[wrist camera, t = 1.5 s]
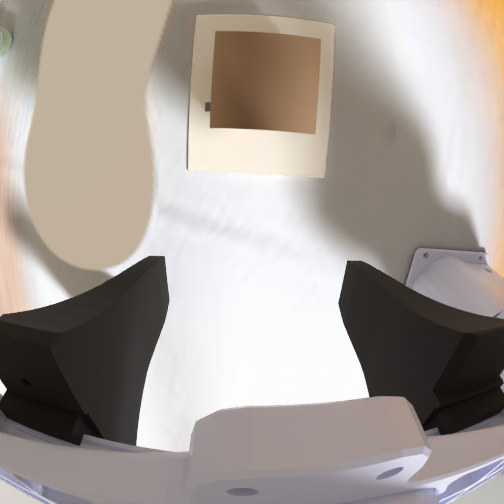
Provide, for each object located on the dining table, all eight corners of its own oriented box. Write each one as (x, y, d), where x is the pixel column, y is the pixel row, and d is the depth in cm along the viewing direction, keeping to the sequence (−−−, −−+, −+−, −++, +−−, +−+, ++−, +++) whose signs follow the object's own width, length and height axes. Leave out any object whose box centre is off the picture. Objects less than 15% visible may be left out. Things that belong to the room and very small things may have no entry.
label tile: (334, 25, 15) (335, 24, 14) (323, 178, 19) (324, 178, 19) (196, 15, 14) (196, 14, 14) (188, 171, 19) (188, 171, 19)
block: (303, 58, 16) (320, 38, 11) (298, 131, 18) (315, 134, 13) (224, 53, 15) (215, 31, 11) (219, 126, 18) (209, 127, 13)
